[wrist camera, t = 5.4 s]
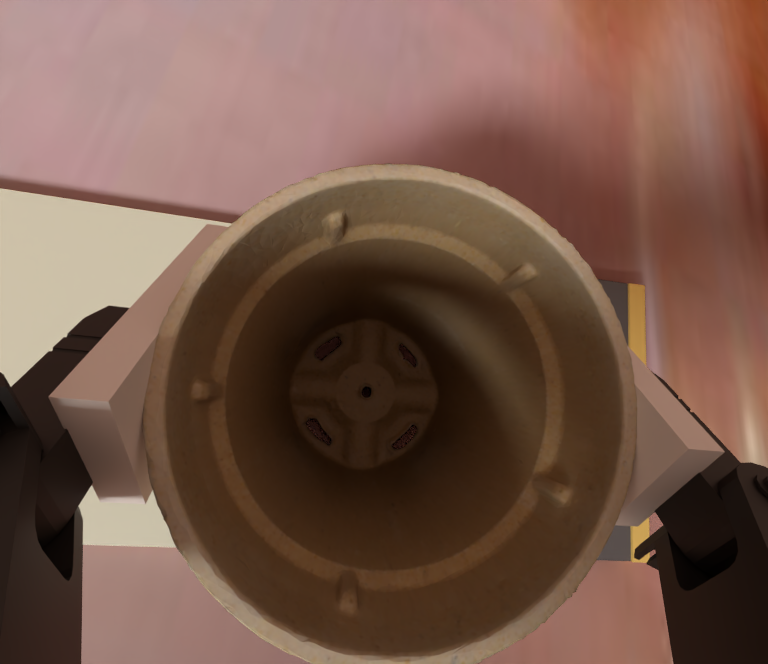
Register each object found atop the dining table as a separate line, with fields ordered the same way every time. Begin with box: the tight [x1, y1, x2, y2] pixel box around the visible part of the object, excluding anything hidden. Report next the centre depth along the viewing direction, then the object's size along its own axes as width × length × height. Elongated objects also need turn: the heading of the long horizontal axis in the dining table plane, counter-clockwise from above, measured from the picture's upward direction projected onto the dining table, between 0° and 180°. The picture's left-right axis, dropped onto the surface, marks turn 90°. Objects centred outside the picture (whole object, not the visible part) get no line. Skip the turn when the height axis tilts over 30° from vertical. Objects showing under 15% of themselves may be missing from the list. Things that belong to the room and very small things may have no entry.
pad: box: [0, 188, 231, 547], centre depth 14 cm, size 10×12×1 cm
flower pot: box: [143, 163, 637, 664], centre depth 11 cm, size 9×9×9 cm
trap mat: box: [597, 279, 650, 563], centre depth 16 cm, size 7×12×1 cm, turn 174°
